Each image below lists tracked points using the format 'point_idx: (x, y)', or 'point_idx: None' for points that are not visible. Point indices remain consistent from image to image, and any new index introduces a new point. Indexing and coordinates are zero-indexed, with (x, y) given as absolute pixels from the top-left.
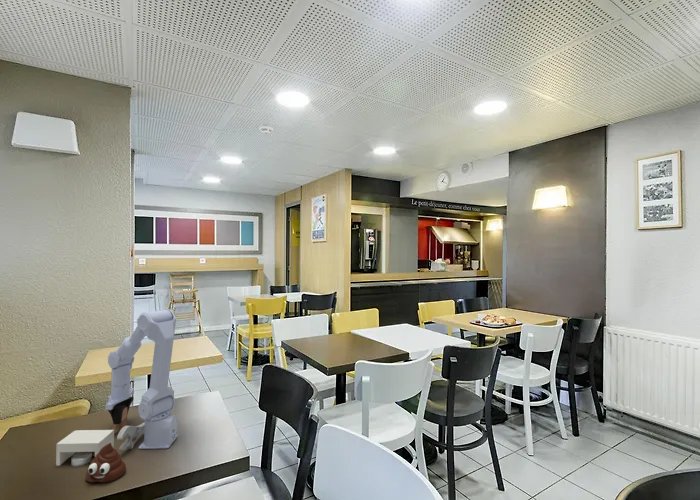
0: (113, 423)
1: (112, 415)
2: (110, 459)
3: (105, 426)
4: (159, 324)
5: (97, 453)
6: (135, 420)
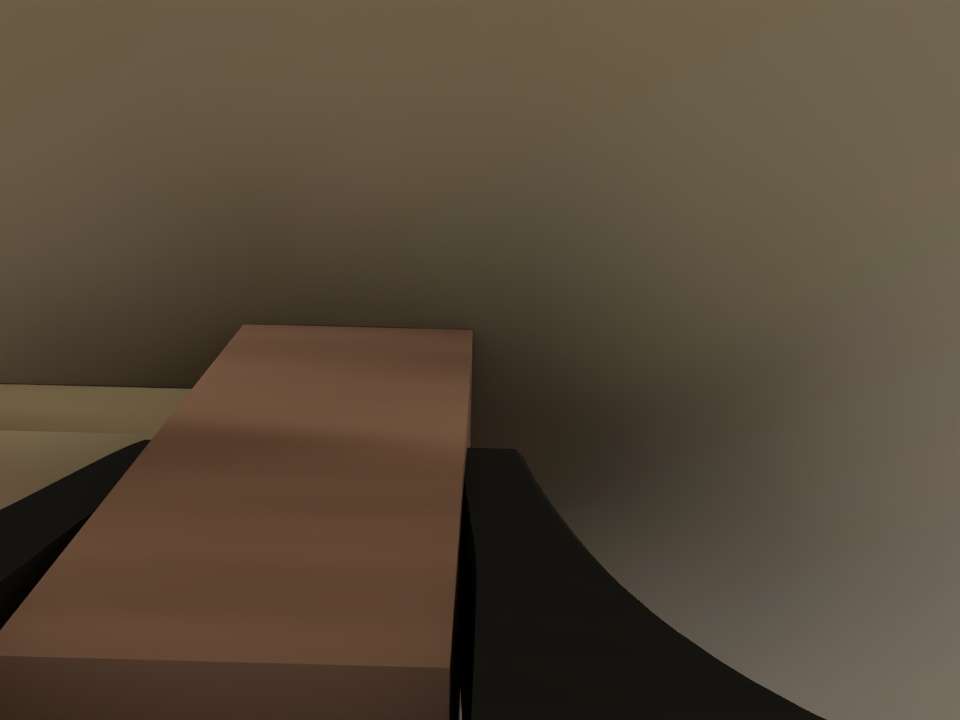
0: (193, 406)
1: None
2: None
3: (459, 3)
4: None
5: None
6: (734, 583)
